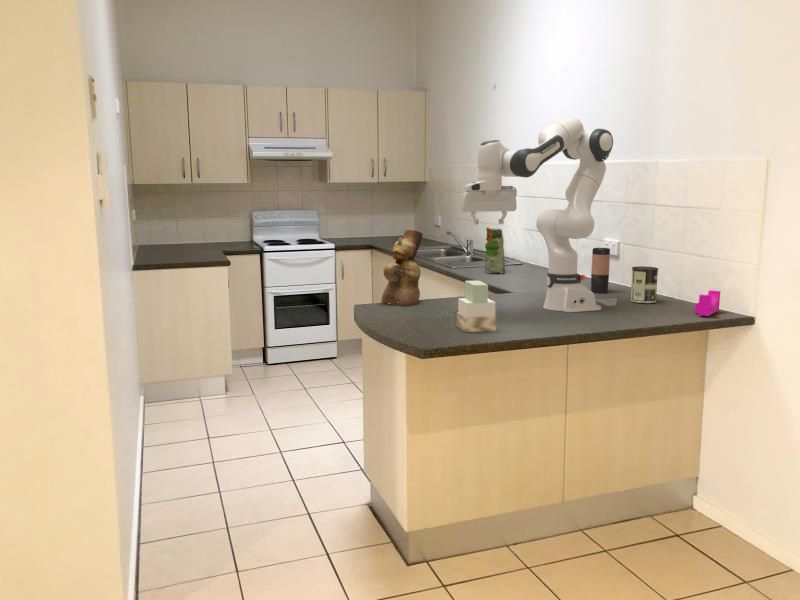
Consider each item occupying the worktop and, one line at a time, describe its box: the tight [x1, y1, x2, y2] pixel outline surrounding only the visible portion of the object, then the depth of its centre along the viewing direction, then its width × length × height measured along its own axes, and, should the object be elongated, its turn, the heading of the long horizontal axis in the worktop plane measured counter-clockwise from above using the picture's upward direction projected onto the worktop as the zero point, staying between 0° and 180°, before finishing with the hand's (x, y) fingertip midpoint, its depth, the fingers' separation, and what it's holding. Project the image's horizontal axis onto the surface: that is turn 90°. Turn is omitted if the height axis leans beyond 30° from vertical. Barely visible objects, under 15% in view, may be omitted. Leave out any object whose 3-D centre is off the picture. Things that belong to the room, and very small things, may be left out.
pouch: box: [484, 227, 506, 275], centre depth 376 cm, size 11×12×25 cm
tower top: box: [457, 297, 497, 318], centre depth 239 cm, size 10×10×5 cm
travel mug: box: [590, 247, 611, 295], centre depth 312 cm, size 8×8×20 cm
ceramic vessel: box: [380, 229, 423, 307], centre depth 287 cm, size 16×22×30 cm
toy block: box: [694, 289, 721, 317], centre depth 268 cm, size 15×6×8 cm, turn 142°
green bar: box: [464, 279, 489, 303], centre depth 238 cm, size 5×11×6 cm, turn 9°
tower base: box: [456, 311, 497, 333], centre depth 239 cm, size 11×11×5 cm
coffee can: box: [630, 265, 659, 304], centre depth 291 cm, size 10×10×14 cm
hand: (488, 224), depth 256 cm, fingers open, 8 cm apart
